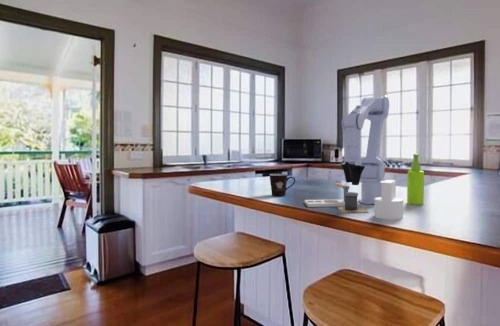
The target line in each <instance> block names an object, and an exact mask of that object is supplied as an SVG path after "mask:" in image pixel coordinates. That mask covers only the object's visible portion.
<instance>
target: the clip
mask: <svg viewBox="0 0 500 326" xmlns="http://www.w3.org/2000/svg"><path fill="white" fill-rule="evenodd" d="M334 185H335V186H337V187H340V188H341V189H343V190H344V189H348V190H349V189H350V185H345V184H342V183H339V182H335V183H334Z"/></svg>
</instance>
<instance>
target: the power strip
mask: <svg viewBox="0 0 500 326" xmlns="http://www.w3.org/2000/svg"><path fill="white" fill-rule="evenodd" d="M346 192H349V189H343V198H341V199H340V198H339V199H305V200H304V204H305V205H306V206H307V207H308V208H312V207H313V208H317V207H318V208H320V207H321V208H322V207H325V208H326V207H327V208H328V207H330V208H331V207H333V208H334V207H336V208H337V207H345V195H344V193H346ZM357 207H360V203H359V201H357Z"/></svg>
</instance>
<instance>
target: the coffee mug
mask: <svg viewBox="0 0 500 326" xmlns="http://www.w3.org/2000/svg"><path fill="white" fill-rule="evenodd" d="M290 179H293V183H292V184H290V185H289V186H288V187H287V182H288V181H289V180H290ZM269 182H270V189H271V191H270V192H271V196H273V197H285V196H286V194H287V193H286V191H287V190H288V189H289V188H291V187H293V185H295V183H296V178H294V176H289V177H288V174H287V173H270V174H269Z"/></svg>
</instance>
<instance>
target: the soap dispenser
mask: <svg viewBox="0 0 500 326" xmlns="http://www.w3.org/2000/svg"><path fill="white" fill-rule="evenodd" d="M419 156H420V155H419V153H413V160H412V161H411V162H410V163H411V164H410V165H411V166H410V170H407V187H406V188H407V191H406V193H407V194H406V195H407V196H406V201H407V202H406V203H407V204H409V205H414V206H415V205H416V206H417V205H418V206H419V205H420V206H421V205H422V206H423V205H424V191H425V189H424V188H425V187H424V185H425V183H424V182H425V172H424V170H422V169H421V164H422V162H420V161H419Z"/></svg>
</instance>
